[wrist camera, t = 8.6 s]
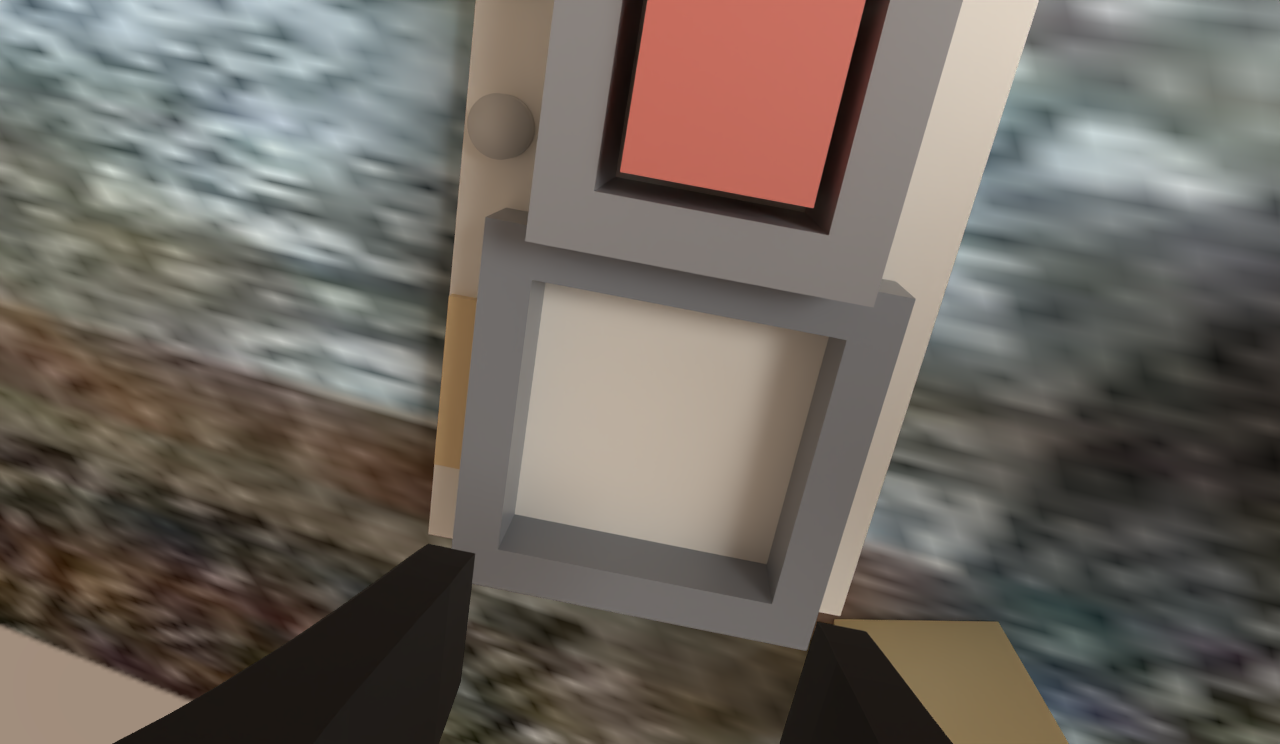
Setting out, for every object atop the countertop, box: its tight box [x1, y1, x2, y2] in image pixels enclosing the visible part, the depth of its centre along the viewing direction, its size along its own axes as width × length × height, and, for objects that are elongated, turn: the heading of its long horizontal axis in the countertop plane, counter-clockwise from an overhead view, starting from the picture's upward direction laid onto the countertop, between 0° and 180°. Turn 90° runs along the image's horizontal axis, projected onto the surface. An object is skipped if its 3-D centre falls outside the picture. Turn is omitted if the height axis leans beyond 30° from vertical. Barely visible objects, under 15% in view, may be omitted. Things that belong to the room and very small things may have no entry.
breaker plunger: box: [620, 0, 866, 208], centre depth 12 cm, size 3×3×3 cm
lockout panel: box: [428, 0, 1039, 651], centre depth 14 cm, size 10×14×4 cm
